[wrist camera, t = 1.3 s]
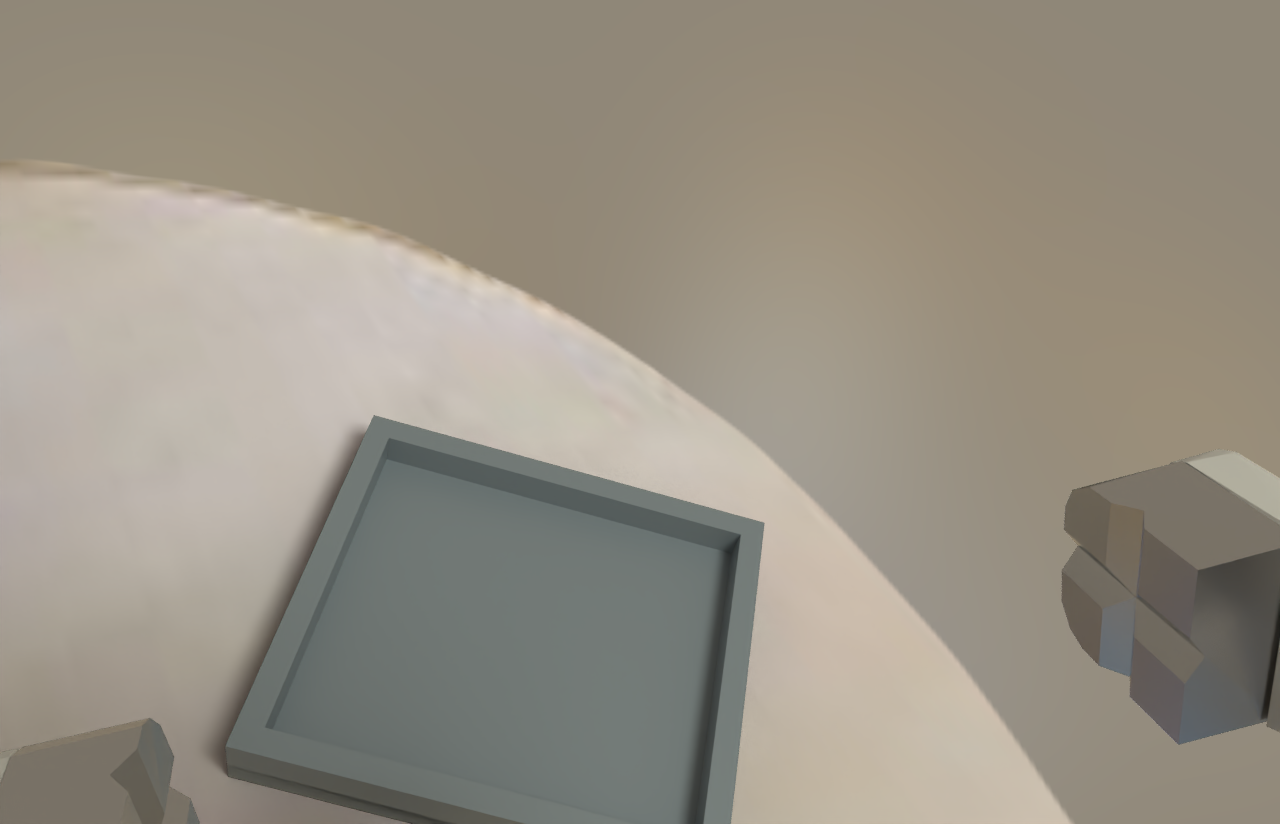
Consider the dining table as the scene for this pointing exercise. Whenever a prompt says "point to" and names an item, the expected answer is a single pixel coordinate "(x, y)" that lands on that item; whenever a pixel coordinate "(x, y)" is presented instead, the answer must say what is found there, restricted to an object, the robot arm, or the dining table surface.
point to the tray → (507, 646)
